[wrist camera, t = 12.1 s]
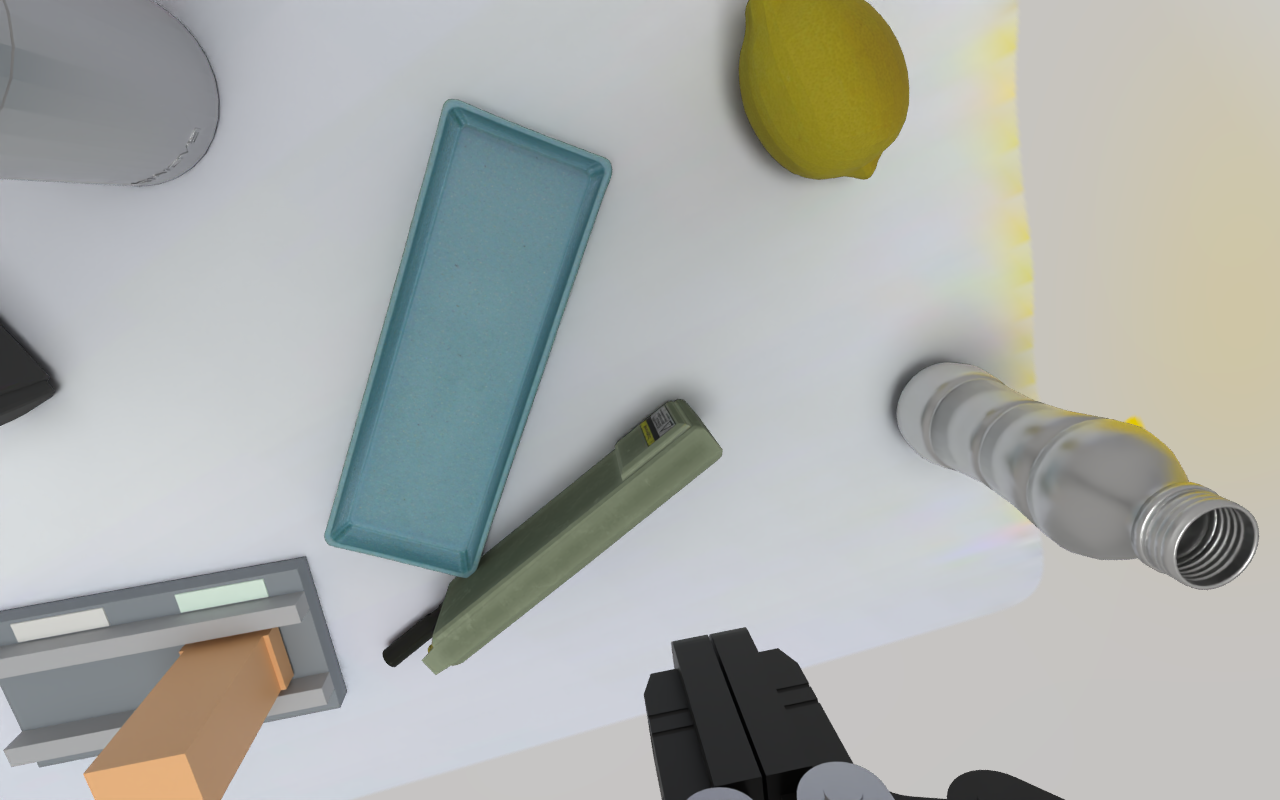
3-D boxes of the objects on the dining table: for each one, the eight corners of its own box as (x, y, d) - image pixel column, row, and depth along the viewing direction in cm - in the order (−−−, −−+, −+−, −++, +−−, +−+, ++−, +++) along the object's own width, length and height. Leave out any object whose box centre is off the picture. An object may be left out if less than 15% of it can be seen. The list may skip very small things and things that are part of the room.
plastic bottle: (925, 470, 46) (1194, 654, 27) (863, 405, 44) (1104, 555, 25) (996, 401, 45) (1323, 541, 26) (936, 333, 44) (1241, 430, 24)
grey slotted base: (56, 748, 43) (21, 787, 40) (-7, 612, 40) (-50, 643, 38) (346, 691, 45) (333, 724, 42) (305, 556, 42) (288, 582, 39)
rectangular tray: (477, 565, 44) (473, 585, 42) (331, 528, 42) (319, 547, 40) (612, 164, 39) (616, 162, 36) (452, 101, 37) (445, 94, 34)
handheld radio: (707, 427, 44) (412, 664, 45) (675, 389, 43) (376, 631, 44) (732, 461, 37) (386, 736, 39) (695, 416, 36) (344, 699, 38)
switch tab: (209, 691, 42) (105, 840, 32) (189, 638, 41) (76, 775, 31) (293, 674, 42) (217, 816, 32) (276, 622, 41) (191, 752, 31)
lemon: (888, 154, 40) (968, 142, 33) (770, 216, 40) (822, 217, 33) (821, -37, 37) (893, -101, 29) (692, 30, 37) (731, -16, 29)
